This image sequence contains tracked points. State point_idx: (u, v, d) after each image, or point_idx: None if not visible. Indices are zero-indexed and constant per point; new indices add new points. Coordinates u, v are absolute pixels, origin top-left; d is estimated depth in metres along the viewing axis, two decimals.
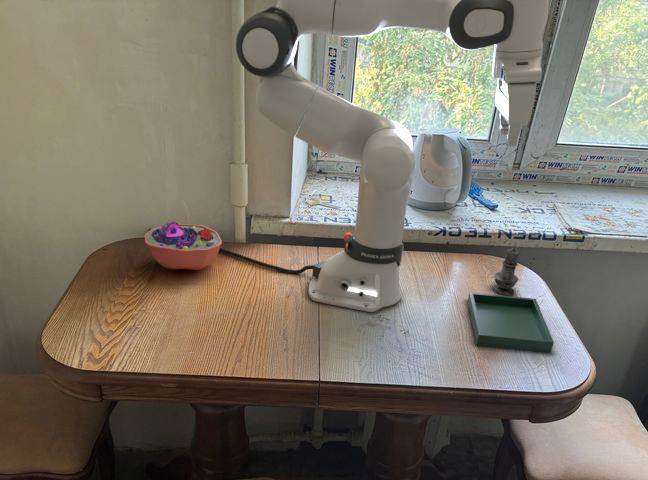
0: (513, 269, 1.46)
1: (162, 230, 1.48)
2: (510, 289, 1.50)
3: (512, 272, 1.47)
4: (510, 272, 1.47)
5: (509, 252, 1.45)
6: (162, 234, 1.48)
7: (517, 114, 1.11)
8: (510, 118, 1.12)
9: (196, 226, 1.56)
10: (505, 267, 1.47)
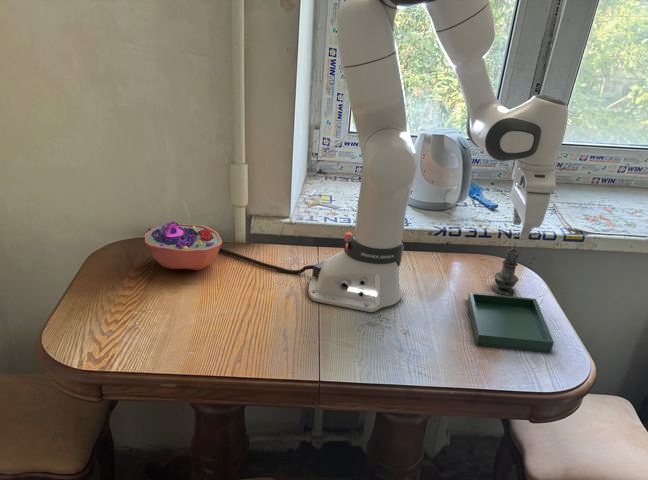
0: (513, 269, 1.46)
1: (162, 230, 1.48)
2: (510, 289, 1.50)
3: (512, 272, 1.47)
4: (510, 272, 1.47)
5: (509, 252, 1.45)
6: (162, 234, 1.48)
7: (531, 218, 1.30)
8: (525, 220, 1.31)
9: (196, 226, 1.56)
10: (505, 267, 1.47)
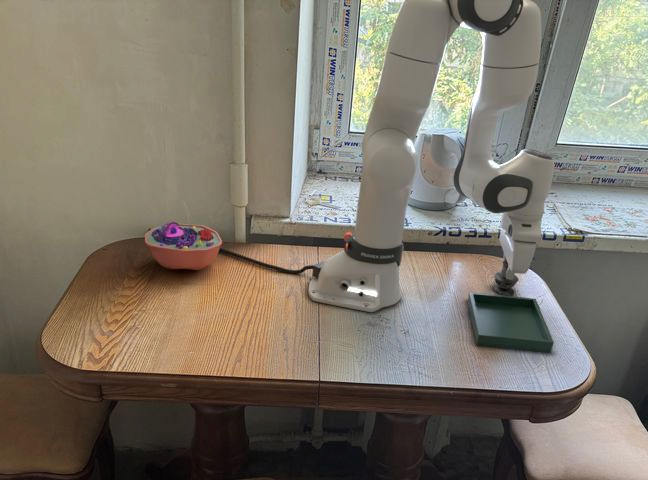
0: None
1: (162, 230, 1.48)
2: (510, 289, 1.50)
3: None
4: None
5: None
6: (162, 234, 1.48)
7: (518, 265, 1.36)
8: (512, 267, 1.37)
9: (196, 226, 1.56)
10: (505, 267, 1.47)
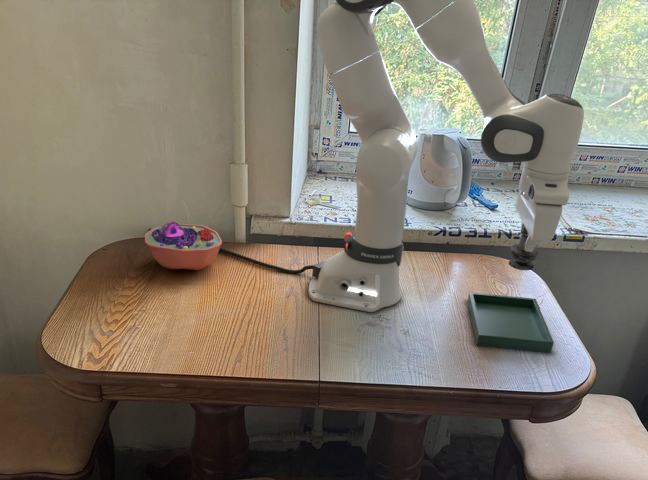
0: None
1: (162, 230, 1.48)
2: (529, 264, 1.30)
3: None
4: None
5: None
6: (162, 234, 1.48)
7: (541, 232, 1.16)
8: (534, 235, 1.16)
9: (196, 226, 1.56)
10: (524, 238, 1.26)
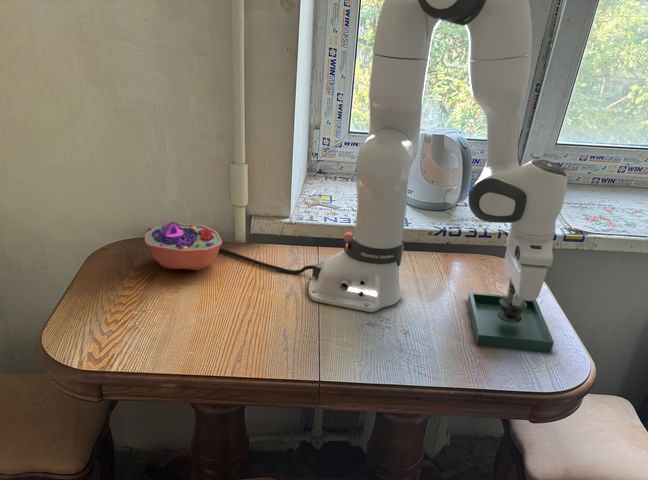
0: None
1: (162, 230, 1.48)
2: (517, 316, 1.34)
3: None
4: None
5: None
6: (162, 234, 1.48)
7: (526, 292, 1.20)
8: (520, 294, 1.21)
9: (196, 226, 1.56)
10: (512, 293, 1.30)
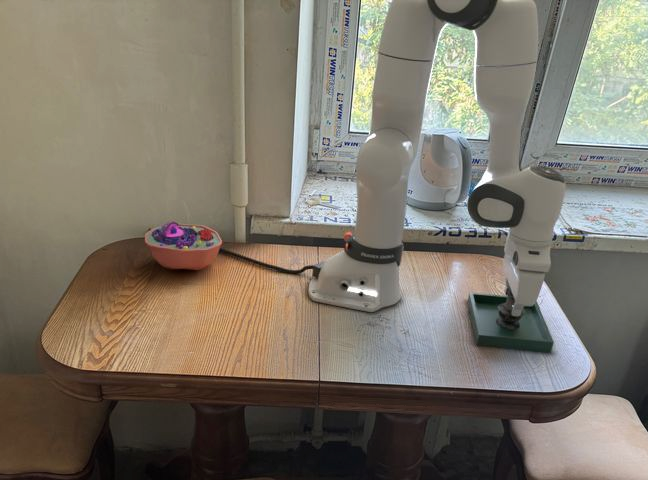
0: None
1: (162, 230, 1.48)
2: (515, 322, 1.35)
3: None
4: None
5: None
6: (162, 234, 1.48)
7: (524, 297, 1.21)
8: (518, 299, 1.22)
9: (196, 226, 1.56)
10: (510, 299, 1.31)
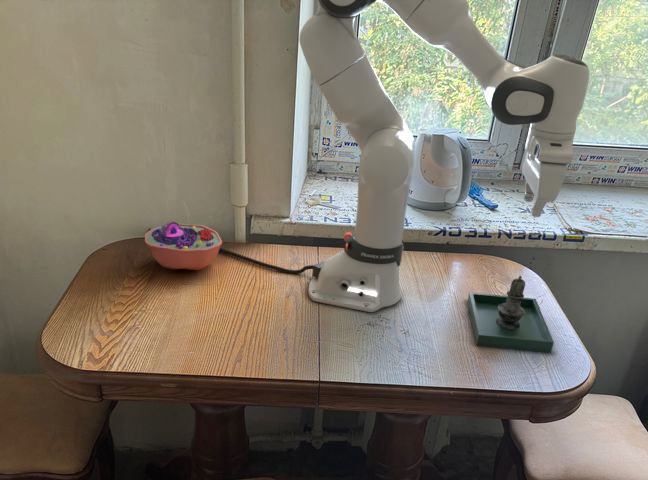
0: (519, 301, 1.31)
1: (162, 230, 1.48)
2: (515, 322, 1.35)
3: (518, 304, 1.32)
4: (515, 305, 1.32)
5: (514, 282, 1.30)
6: (162, 234, 1.48)
7: (546, 191, 1.18)
8: (539, 194, 1.19)
9: (196, 226, 1.56)
10: (510, 299, 1.31)
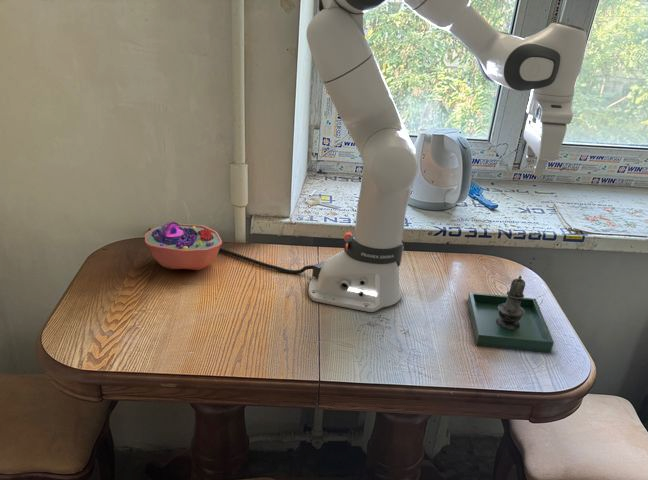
0: (519, 301, 1.31)
1: (162, 230, 1.48)
2: (515, 322, 1.35)
3: (518, 304, 1.32)
4: (515, 305, 1.32)
5: (514, 282, 1.30)
6: (162, 234, 1.48)
7: (547, 150, 1.27)
8: (541, 153, 1.27)
9: (196, 226, 1.56)
10: (510, 299, 1.31)
